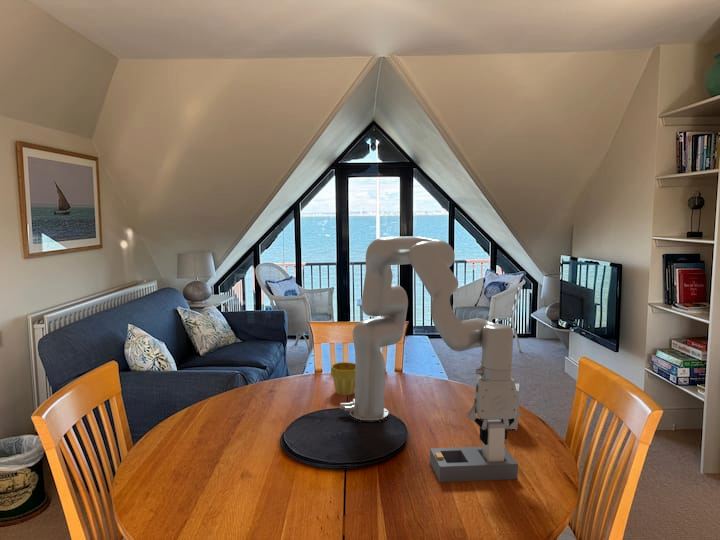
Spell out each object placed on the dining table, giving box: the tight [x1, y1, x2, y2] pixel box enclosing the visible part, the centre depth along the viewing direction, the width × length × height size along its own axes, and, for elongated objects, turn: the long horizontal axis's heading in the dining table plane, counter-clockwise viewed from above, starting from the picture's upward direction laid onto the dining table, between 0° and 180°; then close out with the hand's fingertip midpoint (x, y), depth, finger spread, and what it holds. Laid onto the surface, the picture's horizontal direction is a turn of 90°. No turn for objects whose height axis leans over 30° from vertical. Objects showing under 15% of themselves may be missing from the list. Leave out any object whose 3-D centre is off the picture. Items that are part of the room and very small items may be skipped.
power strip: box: [429, 446, 519, 483], centre depth 136 cm, size 20×10×5 cm, turn 96°
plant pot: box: [330, 361, 355, 396], centre depth 192 cm, size 10×10×10 cm
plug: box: [481, 419, 506, 462], centre depth 136 cm, size 4×5×10 cm
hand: (493, 441), depth 136 cm, fingers closed on plug, 4 cm apart
